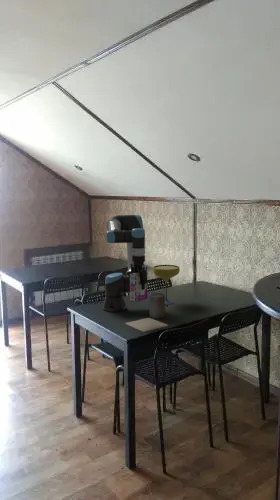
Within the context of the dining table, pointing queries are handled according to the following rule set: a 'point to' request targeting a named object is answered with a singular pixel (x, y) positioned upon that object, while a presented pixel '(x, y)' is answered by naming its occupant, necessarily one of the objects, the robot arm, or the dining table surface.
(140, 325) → the mat
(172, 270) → the cocktail glass
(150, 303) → the pillar candle
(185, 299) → the dining table surface
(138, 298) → the candy bar box
